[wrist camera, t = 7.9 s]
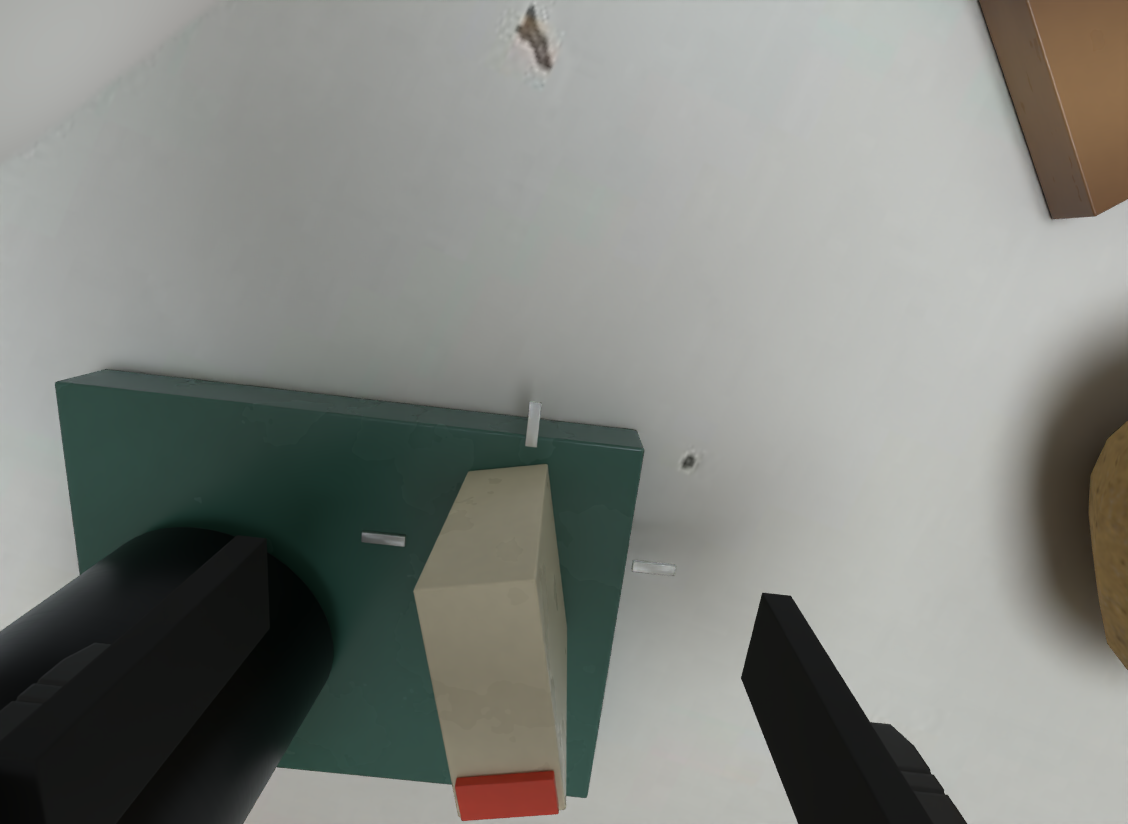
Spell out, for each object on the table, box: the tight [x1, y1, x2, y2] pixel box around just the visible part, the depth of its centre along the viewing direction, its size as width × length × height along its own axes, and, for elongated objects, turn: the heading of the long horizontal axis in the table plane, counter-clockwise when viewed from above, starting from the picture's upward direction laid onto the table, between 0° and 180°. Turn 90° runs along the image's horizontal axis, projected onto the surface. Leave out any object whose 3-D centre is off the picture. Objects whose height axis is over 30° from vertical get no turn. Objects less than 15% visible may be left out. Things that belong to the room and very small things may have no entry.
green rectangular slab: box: [55, 369, 676, 798], centre depth 20 cm, size 15×20×2 cm
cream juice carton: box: [413, 464, 567, 821], centre depth 15 cm, size 6×2×7 cm, turn 6°
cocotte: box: [0, 527, 333, 824], centre depth 14 cm, size 9×9×10 cm
